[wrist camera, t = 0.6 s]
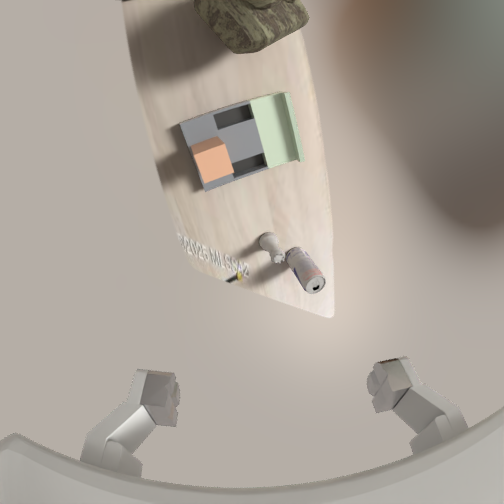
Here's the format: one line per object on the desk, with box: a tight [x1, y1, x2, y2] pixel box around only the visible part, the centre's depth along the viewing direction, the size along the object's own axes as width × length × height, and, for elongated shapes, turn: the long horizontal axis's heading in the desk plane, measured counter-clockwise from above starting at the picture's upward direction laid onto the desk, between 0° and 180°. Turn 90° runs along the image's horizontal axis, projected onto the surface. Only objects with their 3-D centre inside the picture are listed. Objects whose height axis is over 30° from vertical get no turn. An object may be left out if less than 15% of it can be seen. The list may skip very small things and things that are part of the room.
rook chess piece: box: [259, 232, 285, 264], centre depth 60 cm, size 4×4×8 cm
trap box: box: [179, 92, 305, 192], centre depth 47 cm, size 20×14×4 cm
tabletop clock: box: [194, 0, 309, 54], centre depth 25 cm, size 14×9×25 cm, turn 36°
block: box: [191, 136, 234, 184], centre depth 43 cm, size 5×5×8 cm
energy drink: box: [286, 247, 326, 294], centre depth 64 cm, size 5×5×12 cm
